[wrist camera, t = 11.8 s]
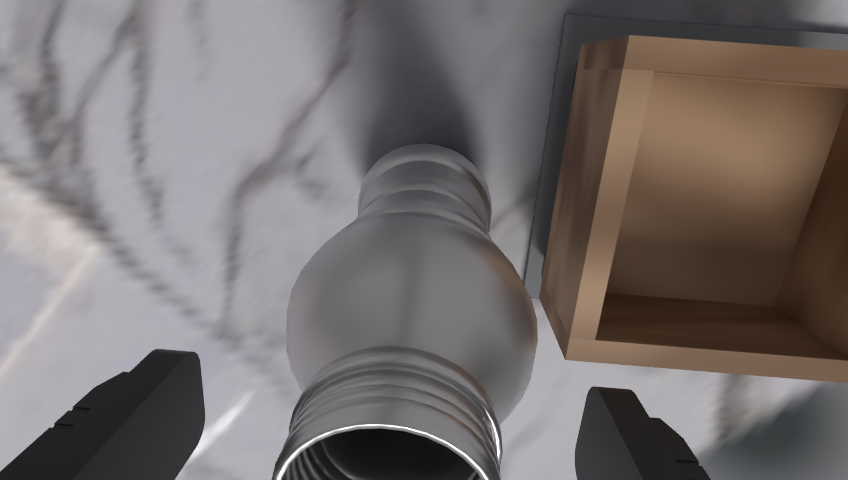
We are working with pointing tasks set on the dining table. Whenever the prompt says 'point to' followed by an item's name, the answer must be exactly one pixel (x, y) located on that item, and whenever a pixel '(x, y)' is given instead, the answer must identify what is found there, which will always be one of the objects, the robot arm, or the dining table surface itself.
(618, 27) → the gray mat
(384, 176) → the plastic bottle
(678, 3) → the dining table surface
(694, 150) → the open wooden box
